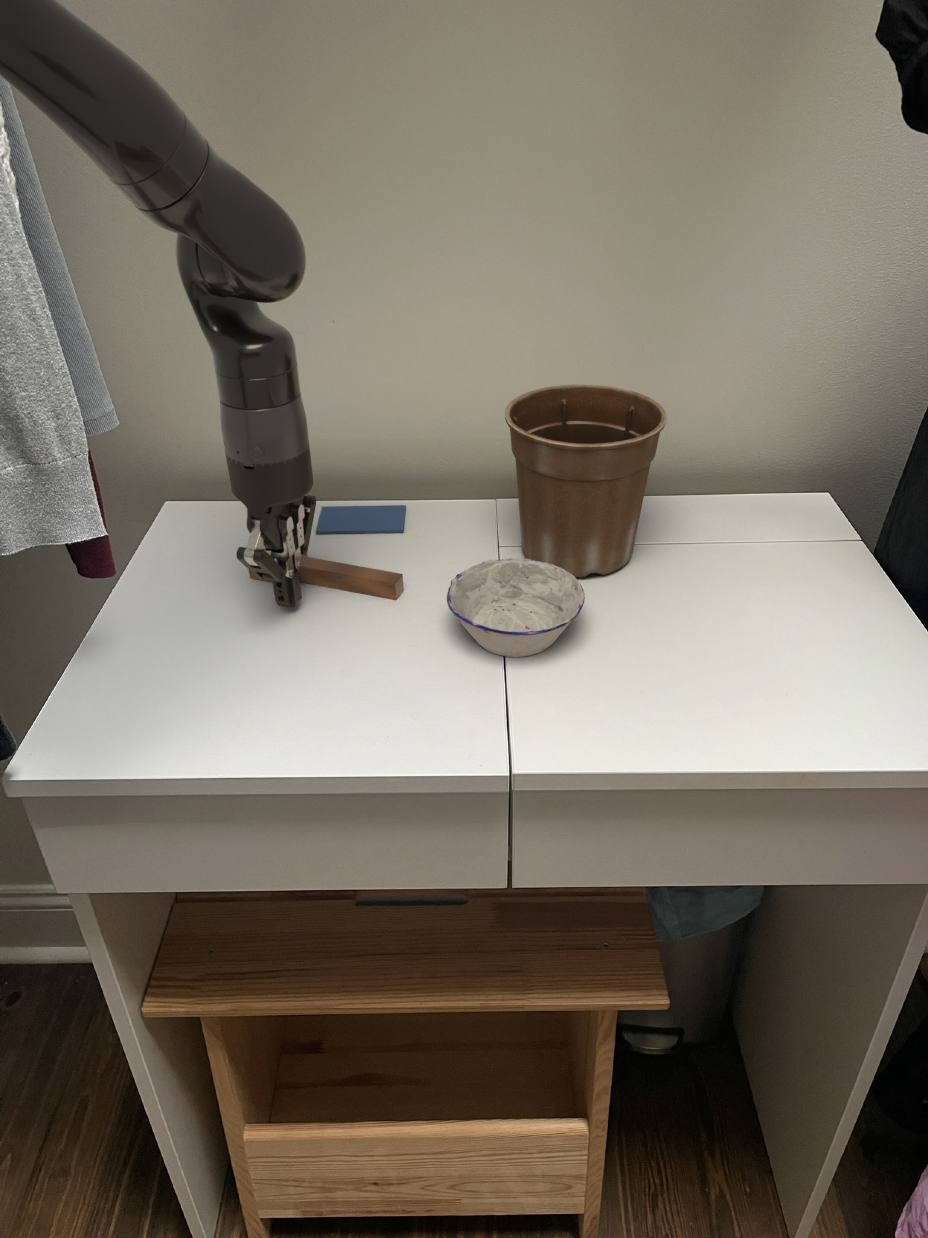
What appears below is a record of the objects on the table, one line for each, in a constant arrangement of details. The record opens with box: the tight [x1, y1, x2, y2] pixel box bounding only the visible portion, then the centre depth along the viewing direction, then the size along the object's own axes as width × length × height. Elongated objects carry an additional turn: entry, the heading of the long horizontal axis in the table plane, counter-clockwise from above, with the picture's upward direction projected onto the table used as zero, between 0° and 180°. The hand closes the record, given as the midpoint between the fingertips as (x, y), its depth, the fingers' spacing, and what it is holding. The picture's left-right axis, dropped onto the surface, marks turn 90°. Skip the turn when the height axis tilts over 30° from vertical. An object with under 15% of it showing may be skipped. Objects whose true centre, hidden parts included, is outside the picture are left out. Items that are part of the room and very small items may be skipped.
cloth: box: [315, 504, 407, 535], centre depth 110 cm, size 10×6×1 cm, turn 90°
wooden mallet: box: [248, 553, 404, 601], centre depth 99 cm, size 16×4×2 cm, turn 70°
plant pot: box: [504, 383, 668, 578], centre depth 100 cm, size 16×16×16 cm
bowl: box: [446, 558, 586, 658], centre depth 90 cm, size 13×13×5 cm
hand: (289, 603), depth 95 cm, fingers closed
